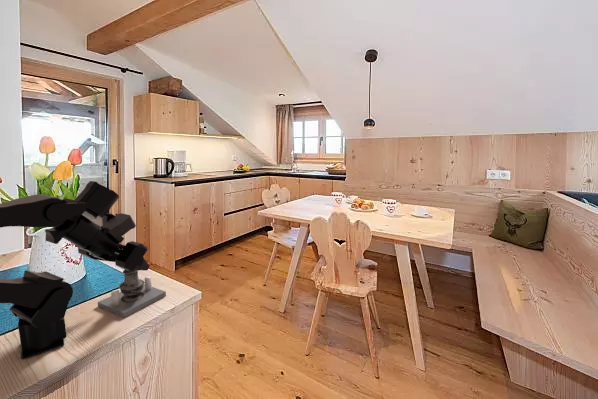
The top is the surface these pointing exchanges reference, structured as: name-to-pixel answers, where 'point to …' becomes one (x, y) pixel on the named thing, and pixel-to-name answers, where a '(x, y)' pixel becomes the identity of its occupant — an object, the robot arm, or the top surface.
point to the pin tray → (127, 308)
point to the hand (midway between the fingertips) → (136, 264)
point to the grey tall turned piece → (131, 286)
